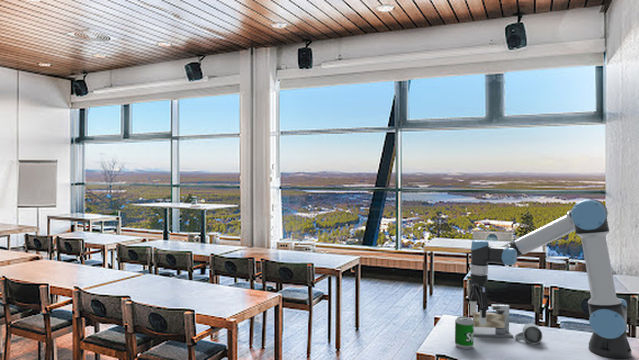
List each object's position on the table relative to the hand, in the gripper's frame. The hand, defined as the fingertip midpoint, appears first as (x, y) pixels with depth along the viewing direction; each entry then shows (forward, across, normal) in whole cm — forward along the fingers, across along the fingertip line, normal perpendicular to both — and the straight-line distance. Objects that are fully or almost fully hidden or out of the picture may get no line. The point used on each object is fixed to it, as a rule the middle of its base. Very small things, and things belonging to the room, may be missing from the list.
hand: (477, 319), depth 206 cm
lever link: (+3, 0, +5) cm, 6 cm away
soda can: (+7, +16, -11) cm, 20 cm away
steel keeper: (+7, -3, +12) cm, 14 cm away
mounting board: (+7, -5, +6) cm, 10 cm away
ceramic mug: (+7, +6, +21) cm, 23 cm away
